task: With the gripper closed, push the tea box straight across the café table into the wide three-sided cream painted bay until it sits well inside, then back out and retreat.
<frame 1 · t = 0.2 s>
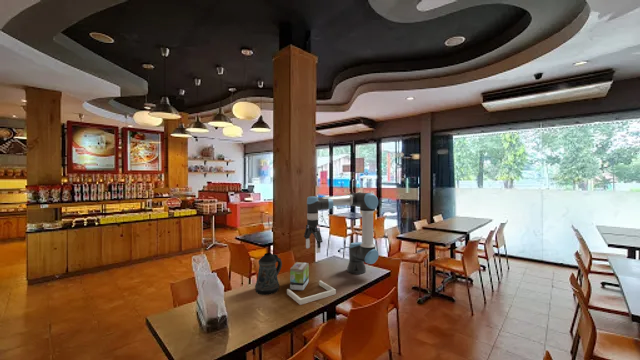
hand: (312, 250, 184), 28 cm above the table, tool pointing down, fingers open, 13 cm apart
tea box: (299, 286, 193), on the table
beer stein: (268, 289, 188), on the table
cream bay: (311, 293, 180), on the table
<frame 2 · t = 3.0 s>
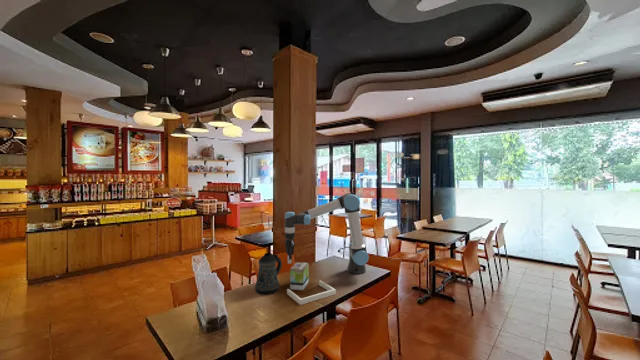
hand: (289, 263, 206), 12 cm above the table, tool pointing down, fingers closed
nothing on the table moved.
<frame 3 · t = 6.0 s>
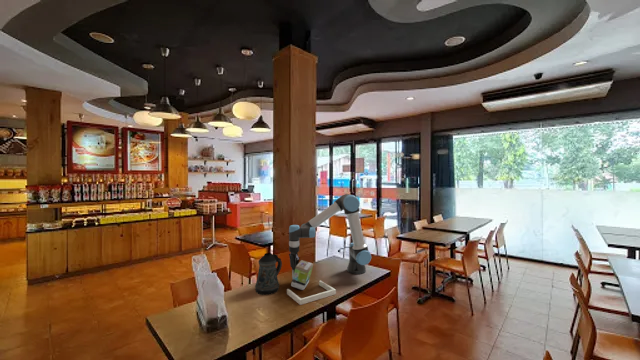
hand: (294, 277, 200), 3 cm above the table, tool pointing down, fingers closed
tea box: (300, 284, 193), point 1 cm above the table, touching gripper, hand
everything else where it was.
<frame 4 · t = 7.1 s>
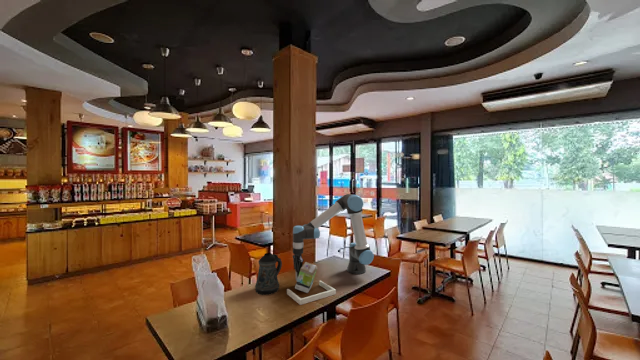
hand: (297, 280, 195), 3 cm above the table, tool pointing down, fingers closed
tea box: (303, 286, 188), point 1 cm above the table, touching gripper, hand
everything else where it was.
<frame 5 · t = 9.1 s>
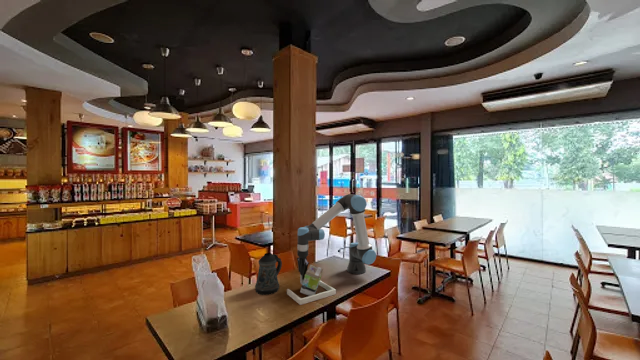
hand: (302, 283, 189), 3 cm above the table, tool pointing down, fingers closed
tea box: (308, 290, 182), point 1 cm above the table, touching gripper, hand
everything else where it was.
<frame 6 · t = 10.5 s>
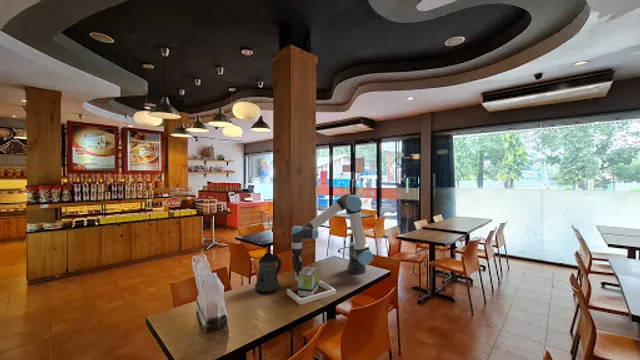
hand: (297, 280, 196), 3 cm above the table, tool pointing down, fingers closed
tea box: (308, 292, 183), on the table
everything else where it was.
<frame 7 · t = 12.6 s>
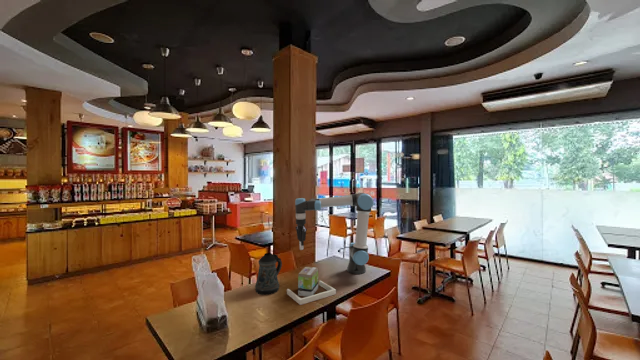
hand: (301, 249, 206), 22 cm above the table, tool pointing down, fingers closed
nothing on the table moved.
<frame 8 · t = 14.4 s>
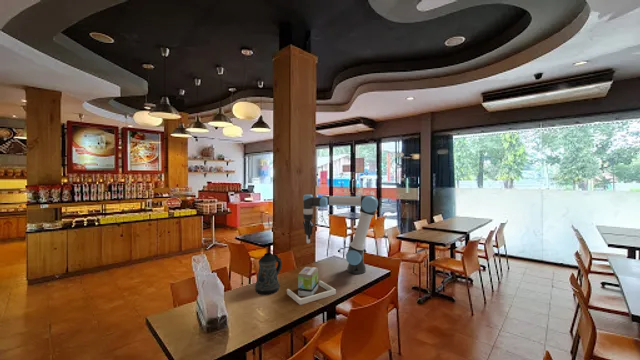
hand: (308, 242, 218), 24 cm above the table, tool pointing down, fingers closed
nothing on the table moved.
at the end: tea box inside the target area on the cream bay (2.3 cm from its centre), point 0.0 cm above the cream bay's base; tea box tilted 0° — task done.
